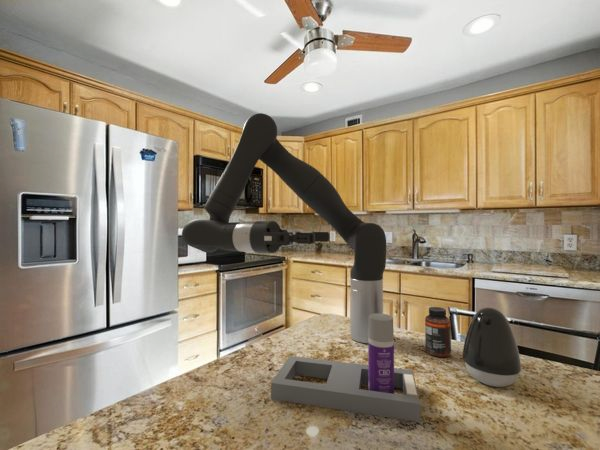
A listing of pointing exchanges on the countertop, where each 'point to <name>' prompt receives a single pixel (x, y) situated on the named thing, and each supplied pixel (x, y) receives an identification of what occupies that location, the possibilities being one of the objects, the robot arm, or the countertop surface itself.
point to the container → (381, 353)
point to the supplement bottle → (438, 332)
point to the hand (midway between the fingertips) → (322, 237)
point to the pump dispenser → (491, 349)
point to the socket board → (345, 388)
